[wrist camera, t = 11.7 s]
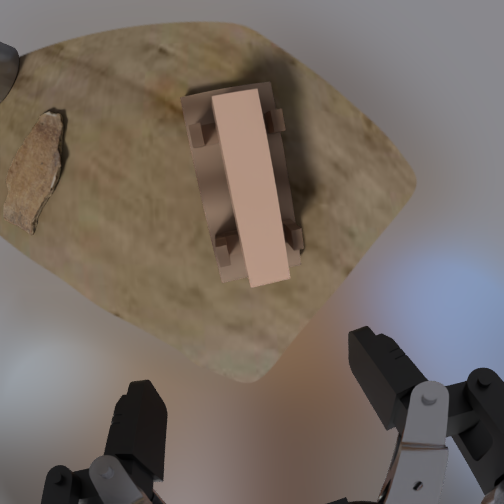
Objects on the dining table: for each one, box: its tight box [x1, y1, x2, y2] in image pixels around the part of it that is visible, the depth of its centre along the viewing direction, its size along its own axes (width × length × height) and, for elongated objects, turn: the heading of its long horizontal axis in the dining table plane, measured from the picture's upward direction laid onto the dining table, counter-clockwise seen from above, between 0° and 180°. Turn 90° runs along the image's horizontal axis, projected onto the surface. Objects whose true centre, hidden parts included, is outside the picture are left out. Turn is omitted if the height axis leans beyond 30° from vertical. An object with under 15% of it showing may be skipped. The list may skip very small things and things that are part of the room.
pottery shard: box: [3, 111, 64, 235], centre depth 25 cm, size 8×3×15 cm
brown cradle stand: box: [180, 82, 304, 283], centre depth 27 cm, size 20×9×6 cm, turn 11°
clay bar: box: [212, 89, 290, 288], centre depth 24 cm, size 4×16×5 cm, turn 11°
